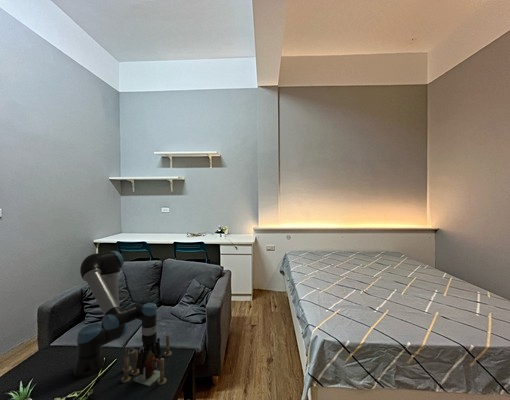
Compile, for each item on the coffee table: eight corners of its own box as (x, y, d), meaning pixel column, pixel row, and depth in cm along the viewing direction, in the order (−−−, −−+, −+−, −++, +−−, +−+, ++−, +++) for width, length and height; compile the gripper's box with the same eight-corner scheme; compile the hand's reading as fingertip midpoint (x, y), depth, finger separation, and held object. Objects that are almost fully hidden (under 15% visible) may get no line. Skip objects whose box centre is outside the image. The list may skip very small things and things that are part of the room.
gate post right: (155, 383, 141) (155, 360, 141) (161, 377, 146) (161, 355, 146) (162, 385, 139) (162, 362, 139) (168, 380, 144) (168, 357, 144)
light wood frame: (110, 377, 145) (110, 354, 145) (127, 366, 156) (127, 344, 156) (125, 383, 141) (125, 359, 141) (142, 371, 151) (142, 348, 151)
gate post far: (162, 355, 167) (162, 336, 167) (167, 351, 171) (167, 332, 171) (168, 357, 165) (168, 337, 165) (173, 352, 170) (173, 334, 170)
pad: (133, 380, 143) (133, 379, 143) (149, 368, 153) (149, 367, 153) (149, 386, 139) (149, 385, 139) (164, 373, 149) (164, 372, 149)
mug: (134, 379, 143) (134, 360, 143) (144, 369, 152) (143, 351, 152) (154, 382, 141) (154, 363, 141) (163, 371, 149) (163, 353, 149)
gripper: (139, 343, 135) (138, 388, 135) (168, 325, 154) (167, 365, 154) (128, 340, 138) (128, 384, 138) (158, 323, 157) (157, 362, 157)
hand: (149, 374), depth 146 cm, fingers open, 8 cm apart
